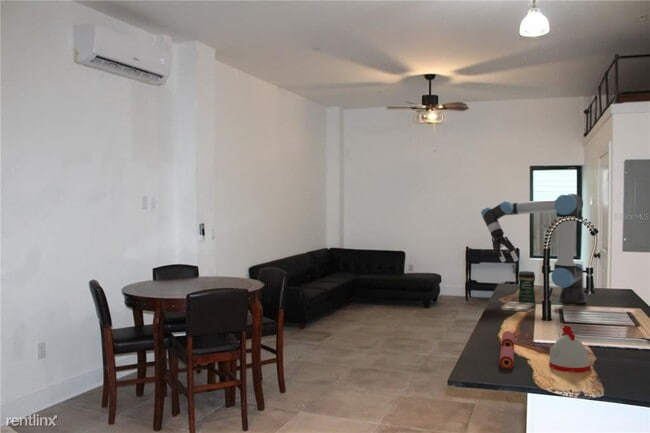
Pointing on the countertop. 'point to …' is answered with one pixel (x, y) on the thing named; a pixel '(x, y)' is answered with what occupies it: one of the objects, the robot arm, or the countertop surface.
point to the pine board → (517, 306)
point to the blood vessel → (507, 350)
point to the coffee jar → (526, 286)
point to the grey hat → (569, 353)
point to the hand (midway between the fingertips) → (510, 261)
